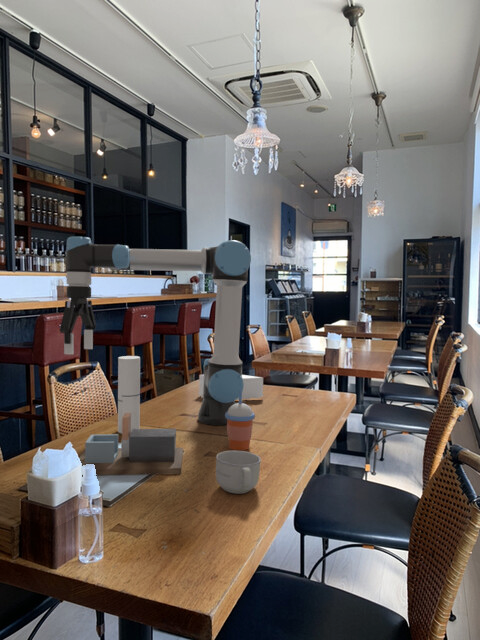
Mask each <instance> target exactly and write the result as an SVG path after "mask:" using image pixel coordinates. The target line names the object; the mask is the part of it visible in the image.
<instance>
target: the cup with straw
mask: <svg viewBox="0 0 480 640" xmlns="http://www.w3.org/2000/svg"><path fill="white" fill-rule="evenodd" d="M235 403H236V404H233V405H232V406H231V407H230V408H229V409H228V411H227V412H226V414H225V417H226V419H227V422H228V423H227V425H226V428H227V438H228V447H229V449H230V450H231V451H233V450H235V451H246V450H249V449H250V445H251V438H252V435H253V434H252V433H253V432H252V431H253V420H255V417H256V414H255V413H254V411H253V410H252V408H251V407H250V406H249V405H248V404H246V403H244V402H243V401H242V389H239V402H235Z"/></svg>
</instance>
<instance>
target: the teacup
mask: <svg viewBox="0 0 480 640" xmlns="http://www.w3.org/2000/svg"><path fill="white" fill-rule="evenodd" d="M215 458H216V462H215V479H216V483H218V485H219V486H220V487H221V488H222V489H223V490H224V492H227V493H231V494H237V495H239V494H240V495H241V494H246V493H248V492H251V490H253V489H254V488H255V487H256V486H257V484H258V483H259V478H260V471H261V470H260V469H261V462H262V458H261V457H260V456H259V455H258V454H255V453H252V452H250V451H246V450H244V451H236V450H224V451H221V452H219V453H217V454H216V456H215Z"/></svg>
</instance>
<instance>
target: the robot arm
mask: <svg viewBox="0 0 480 640" xmlns="http://www.w3.org/2000/svg"><path fill="white" fill-rule="evenodd" d="M65 253H66V254H65V255H66V257H65V258H66V259H65V260H66V261H65V262H66V275H65V278H66V284H67V285H68V286H67V287H66V293H65V294H66V298H68V299H70V300H65V302H64V310H63V313H62V319H61V322H60V323H61V324H60V327H59V331H60V334H63V346H64V347H63V355H74V354H75V353H74V352H75V351H74V350H75V349H74V347H75V346H74V345H75V343H74V336H75V335H74V333H73V330H74V329H75V325H76V323H77V320H78V318H79V317H80V319H81V321H82V324H83V326H84V328H85V329H83V349H84V350H93V348H94V347H93V345H94V343H93V342H94V337H93V336H94V330H97V329H96V328H97V324H96V318H95V314H94V310H93V305H92V304H93V303H92V300H89V299H90V298H91V297H92V287H91V286H90V285H92V268H96V269H97V268H98V269H99V268H100V269H109V270H111V271H167V272H168V271H170V272H171V271H176V272H179V271H181V272H201V273H203V274H204V275H212V281H213V283H215V285H216V296H215V297H216V299H215V300H216V301H215V316H214V317H215V319H214V333H213V334H214V336H213V340H214V341H213V354H212V357H211V358H206V359H205V360H203V366H202V367H203V375H204V387H203V397H202V401H201V405H200V406H199V407H200V408H199V410H198V414H197V416H198V417H197V420H198V421H199V422H200V423H201V424H205V425H210V426H227V423H228V422H227V419H226V417H225V414H226V412H227V411H228V409H229V408H230V407H231V406H232V405H233V404H236V403H237V402H235V400H236V399H237V398H238V397H239V389H242V391H243V387H244V383H243V378H242V375H243V360H241V358H240V357H239V353H240V351H239V350H240V348H239V347H240V335H241V334H240V333H241V332H240V331H241V317H242V300H243V299H242V298H243V297H242V296H243V288H244V286H245V285H246V284H247V282H248V275H249V274H248V271H249V268H250V266H251V262H252V261H251V260H252V256H251V252H250V250H249V248H248V247H247V246H246V244H245V243H243V242H241V241H239V240H235V239H233V240H225V241H223V242H221V243H220V244H219V245H217V246H212V247H203V248H202V249H167V248H166V249H159V248H158V249H157V248H155V249H154V248H130V247H129V245H126V244H124V245H123V244H119V243H117V244H96V243H93V242H92V240H91V238H90V237H87V236H69V237H68V238H67V239H66V250H65Z"/></svg>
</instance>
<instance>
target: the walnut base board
mask: <svg viewBox="0 0 480 640" xmlns="http://www.w3.org/2000/svg"><path fill="white" fill-rule="evenodd" d="M183 456H184V447H176V454H175V461H174V462H136V463H129V457H121V447H118V455H117V457H116V459H115V461H114V463H85V449H84V450H83V451H82V453H81V454H80V456H79V457H78V458H80V461H81V463H82V466H83V465H86V464H94V465H95V469H96V474H97V475H96V476H124V475H125V476H127V475H131V476H132V475H133V476H135V475H136V476H137V475H182V470H183V469H182V468H183V467H182V466H183V458H184V457H183Z"/></svg>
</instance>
